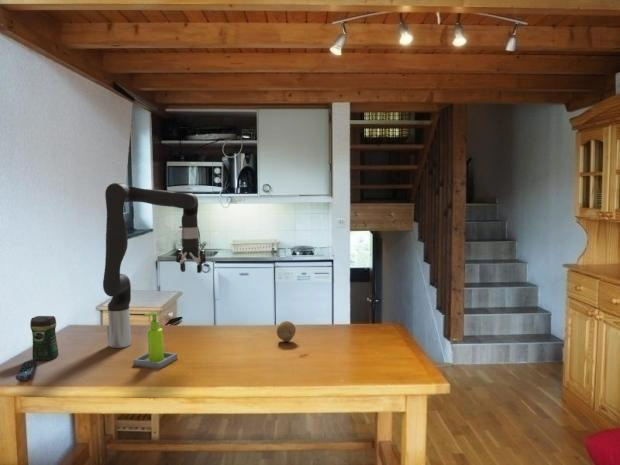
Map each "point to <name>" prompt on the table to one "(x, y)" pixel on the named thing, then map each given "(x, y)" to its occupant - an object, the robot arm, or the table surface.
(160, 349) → the soap dispenser
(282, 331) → the natural sponge
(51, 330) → the coffee jar
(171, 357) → the tray
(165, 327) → the table surface
